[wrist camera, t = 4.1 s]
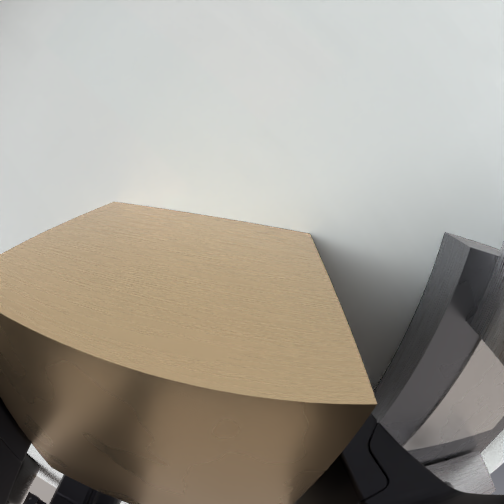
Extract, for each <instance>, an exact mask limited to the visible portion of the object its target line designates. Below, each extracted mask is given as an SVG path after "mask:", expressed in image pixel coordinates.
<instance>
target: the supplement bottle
mask: <svg viewBox="0 0 504 504" xmlns="http://www.w3.org/2000/svg"><path fill="white" fill-rule="evenodd" d="M38 471H39V466H38V465H37V463H36V462H35V461H34V460H33V459H32V458H30V457H29V456H28V455H27V454H26V455H25V458H24V460H23V462H22V465H21V467H20V469H19V472H18V474H17V476H16V479H15V481H14V484H13V486H12V489H11V491H10V494H9V497H8V499H7V502H6V504H21V502H22V500H23V499H24V497H25V495H26V493H27V491H28V489H29V488H30V486H31V484H32V482H33V480H34V478H35V477H36V475H37V473H38Z"/></svg>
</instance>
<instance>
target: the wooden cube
mask: <svg viewBox="0 0 504 504" xmlns="http://www.w3.org/2000/svg"><path fill="white" fill-rule="evenodd" d="M0 397H1V399H2V400H3V402H4V404H5V405H6V407H7V409H8V410H9V412H10V413H11V415H12V416H13V418H14V419H15V421H16V422H17V424H18V425H19V427H20V428H21V429H22V431H23V432H24V434H25V435H26V436H27V438H28V439H29V440H30V442H31V443H32V444H33V446H34V447H35V448H36V449H37V451H38V452H39V453H40V454H41V456H42V457H43V458H44V459H45V460H46V462H47V463H48V464H49V465H50V466H51V467H52V468H54V469H55V470H57V471H59V472H61V473H63V474H64V475H66V476H68V477H70V478H72V479H74V480H76V481H78V482H80V483H82V484H84V485H86V486H88V487H90V488H92V489H95V490H97V491H99V492H101V493H104V494H106V495H109V496H111V497H114V498H116V499H119V500H121V501H124V502H127V503H129V504H294V503H295V502H296V501H297V500H298V499H299V498H300V497H301V496H302V495H303V494H304V493H305V492H306V491H307V490H308V489H309V488H310V487H311V486H312V485H313V484H314V483H315V482H316V481H317V480H318V479H319V478H320V476H321V475H322V474H323V473H324V472H325V471H326V470H327V469H328V468H329V466H330V465H331V464H332V463H333V462H334V461H335V460H336V458H337V457H338V456H339V455H340V454H341V452H342V451H343V450H344V449H345V447H346V446H347V445H348V444H349V442H350V441H351V440H352V439H353V437H354V436H355V435H356V433H357V432H358V431H359V429H360V428H361V427H362V425H363V424H364V423H365V421H366V420H367V418H368V417H369V416H370V414H371V413H372V411H373V410H374V408H375V407H376V405H377V402H376V399H375V396H374V393H373V390H372V387H371V384H370V381H369V378H368V375H367V373H366V370H365V367H364V364H363V362H362V359H361V356H360V353H359V351H358V348H357V345H356V343H355V340H354V338H353V335H352V332H351V330H350V327H349V325H348V322H347V320H346V317H345V315H344V312H343V310H342V307H341V305H340V302H339V300H338V297H337V295H336V293H335V290H334V288H333V285H332V283H331V281H330V278H329V276H328V274H327V271H326V269H325V267H324V264H323V262H322V260H321V258H320V255H319V253H318V251H317V249H316V246H315V244H314V242H313V240H312V238H311V235H310V234H308V233H303V232H298V231H292V230H287V229H282V228H276V227H270V226H265V225H259V224H254V223H248V222H242V221H236V220H230V219H224V218H218V217H212V216H206V215H200V214H193V213H187V212H181V211H174V210H168V209H161V208H154V207H147V206H140V205H133V204H126V203H119V202H112V203H110V204H107V205H105V206H102V207H100V208H97V209H95V210H93V211H90V212H88V213H85V214H83V215H81V216H78V217H76V218H74V219H71V220H69V221H67V222H65V223H63V224H60V225H58V226H56V227H54V228H52V229H50V230H47V231H45V232H43V233H41V234H39V235H37V236H35V237H33V238H31V239H29V240H27V241H25V242H23V243H21V244H19V245H17V246H15V247H13V248H11V249H10V250H8V251H6V252H4V253H2V254H0Z"/></svg>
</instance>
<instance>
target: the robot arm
mask: <svg viewBox="0 0 504 504" xmlns="http://www.w3.org/2000/svg"><path fill="white" fill-rule="evenodd" d="M30 445H31V442H30V440H29V439H28V438H27V436H26V435H25V434H24V432H23V431H22V429H21V428H20V427H19V425H18V424H17V422H16V421H15V419H14V418H13V416H12V415H11V413H10V412H9V410H8V409H7V407H6V405H5V404H4V402H3V400H2V399H1V397H0V504H6V502H7V499H8V497H9V494H10V491H11V489H12V486H13V484H14V481H15V479H16V476H17V474H18V472H19V469H20V467H21V465H22V462H23V460H24V458H25V455H26V453H27V451H28V449H29V447H30ZM120 503H121V500H119V499H116V498H114V497H111V496H109V495H106V494H104V493H101V492H99V491H97V490H95V489H92V488H90V487H88V486H86V485H84V484H82V483H80V482H78V481H76V480H74V479H72V478H70V477H68V476H66V475H63V477H62V479H61V481H60V483H59V485H58V487H57V489H56V491H55V493H54V495H53V498H52V500H51V502H50V504H120ZM23 504H46V503H45V502H43V501H42V500H40V498H39V497H37V496H36V495H33V494H31V493H30V492H29V493H28V495H27V497H26V499H25V501H24V503H23ZM294 504H504V495H490V494H475V493H466V492H462V491H459V490H456V489H454V488H452V487H450V486H449V485H447V484H446V483H444V482H443V481H442V480H441V479H439V478H438V477H437V476H436V475H435V474H433V473H432V472H431V471H430V470H429V469H427V468H426V467H425V466H424V465H423V464H422V463H420V462H419V461H418V460H417V459H416V458H414V457H413V456H412V455H411V454H410V453H409V452H408V451H407V450H406V449H405V448H404V447H402V446H401V445H400V444H399V443H398V442H397V441H396V440H395V439H394V438H393V437H392V435H391V434H390V433H389V432H388V431H387V430H386V429H385V428H384V427H383V426H382V425H381V424H380V423H379V422H378V423H377V419H376V418H375V417H374V416H373V415H372V414H370V416H369V417H368V418H367V420H366V421H365V423H364V424H363V425H362V427H361V428H360V429H359V431H358V432H357V433H356V435H355V436H354V437H353V439H352V440H351V441H350V442H349V444H348V445H347V446H346V447H345V449H344V450H343V451H342V452H341V454H340V455H339V456H338V457H337V458H336V460H335V461H334V462H333V463H332V464H331V465H330V466H329V468H328V469H327V470H326V471H325V472H324V473H323V474H322V475H321V476H320V478H319V479H318V480H317V481H316V482H315V483H314V484H313V485H312V486H311V487H310V488H309V489H308V490H307V491H306V492H305V493H304V494H303V495H302V496H301V497H300V498H299V499H298V500H297V501H296V502H295V503H294Z"/></svg>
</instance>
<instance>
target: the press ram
mask: <svg viewBox="0 0 504 504" xmlns="http://www.w3.org/2000/svg"><path fill="white" fill-rule="evenodd" d="M425 467H426V468H427V469H429V470H430V471H431V472H432V473H433V474H435V475H436V476H437V477H438V478H439V479H441V480H442V481H443V482H444V483H446V484H447V485H449V486H450V487H452V488H454V489H456V490H459V491H462V492H466V493H475V494H491V493H492V492H494V491H495V490H496V489H495V487H494V484H493V482H492V479H491V477H490V474H489V472H488V469H487V467H486V465H485V462H484V460H483V458H482V456H481V453H480V451H479V450H477V451H475V452H472V453H469V454H466V455H463V456H460V457H457V458H454V459H451V460H447V461H444V462H440V463H436V464H433V465H429V466H425Z"/></svg>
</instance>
